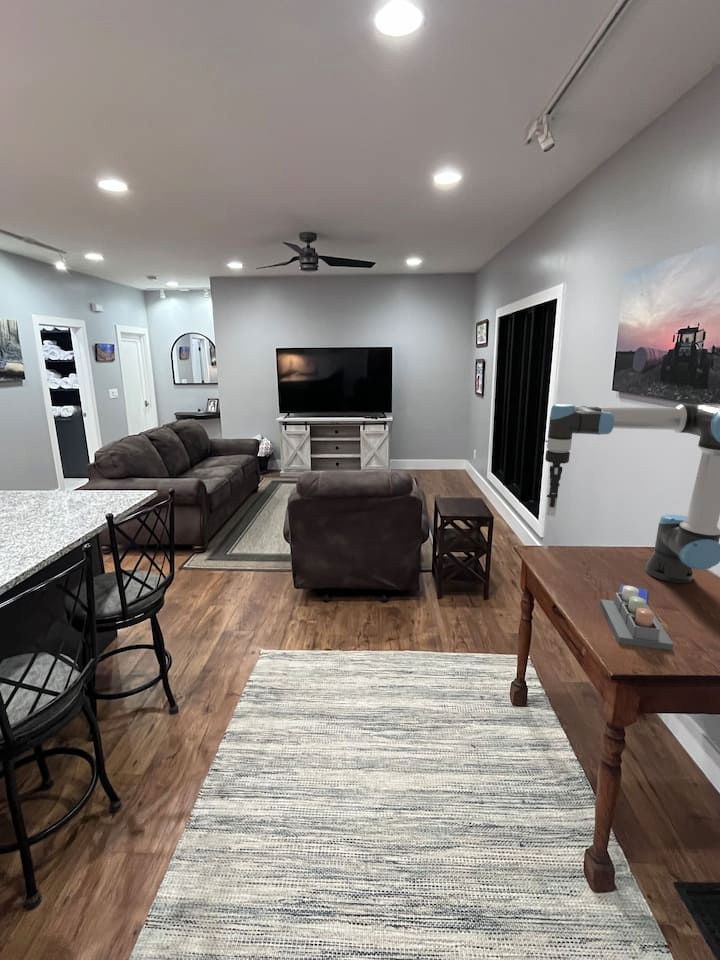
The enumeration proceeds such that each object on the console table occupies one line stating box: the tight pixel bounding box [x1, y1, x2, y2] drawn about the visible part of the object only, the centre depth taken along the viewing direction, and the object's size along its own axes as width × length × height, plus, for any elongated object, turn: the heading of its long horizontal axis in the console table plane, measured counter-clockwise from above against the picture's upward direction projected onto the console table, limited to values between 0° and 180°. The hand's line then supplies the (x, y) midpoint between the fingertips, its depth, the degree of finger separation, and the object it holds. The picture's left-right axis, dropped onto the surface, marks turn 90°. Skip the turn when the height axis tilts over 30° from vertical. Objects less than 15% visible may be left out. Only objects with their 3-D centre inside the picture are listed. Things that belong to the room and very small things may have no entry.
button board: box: [599, 592, 674, 651], centre depth 146 cm, size 14×22×6 cm, turn 167°
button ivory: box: [621, 585, 639, 602], centre depth 151 cm, size 4×4×4 cm
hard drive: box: [619, 583, 649, 605], centre depth 163 cm, size 2×8×12 cm
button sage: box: [628, 596, 646, 614], centre depth 144 cm, size 4×4×4 cm
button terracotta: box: [635, 608, 655, 628], centre depth 138 cm, size 4×4×4 cm
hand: (551, 509), depth 168 cm, fingers open, 13 cm apart
